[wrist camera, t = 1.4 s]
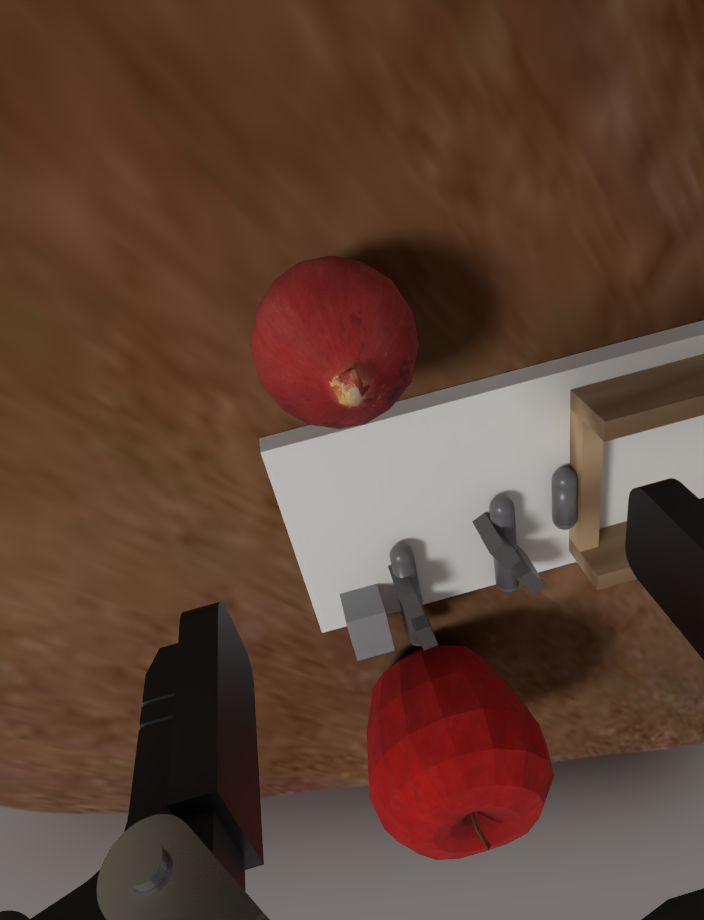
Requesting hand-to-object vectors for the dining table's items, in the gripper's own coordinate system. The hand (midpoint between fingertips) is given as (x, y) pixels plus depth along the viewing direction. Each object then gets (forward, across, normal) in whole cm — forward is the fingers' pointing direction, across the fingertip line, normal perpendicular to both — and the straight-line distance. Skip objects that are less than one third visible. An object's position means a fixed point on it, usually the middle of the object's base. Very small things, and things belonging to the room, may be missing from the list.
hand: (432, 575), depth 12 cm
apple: (+16, -1, +24) cm, 28 cm away
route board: (+15, -8, +12) cm, 21 cm away
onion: (+16, 0, 0) cm, 16 cm away
